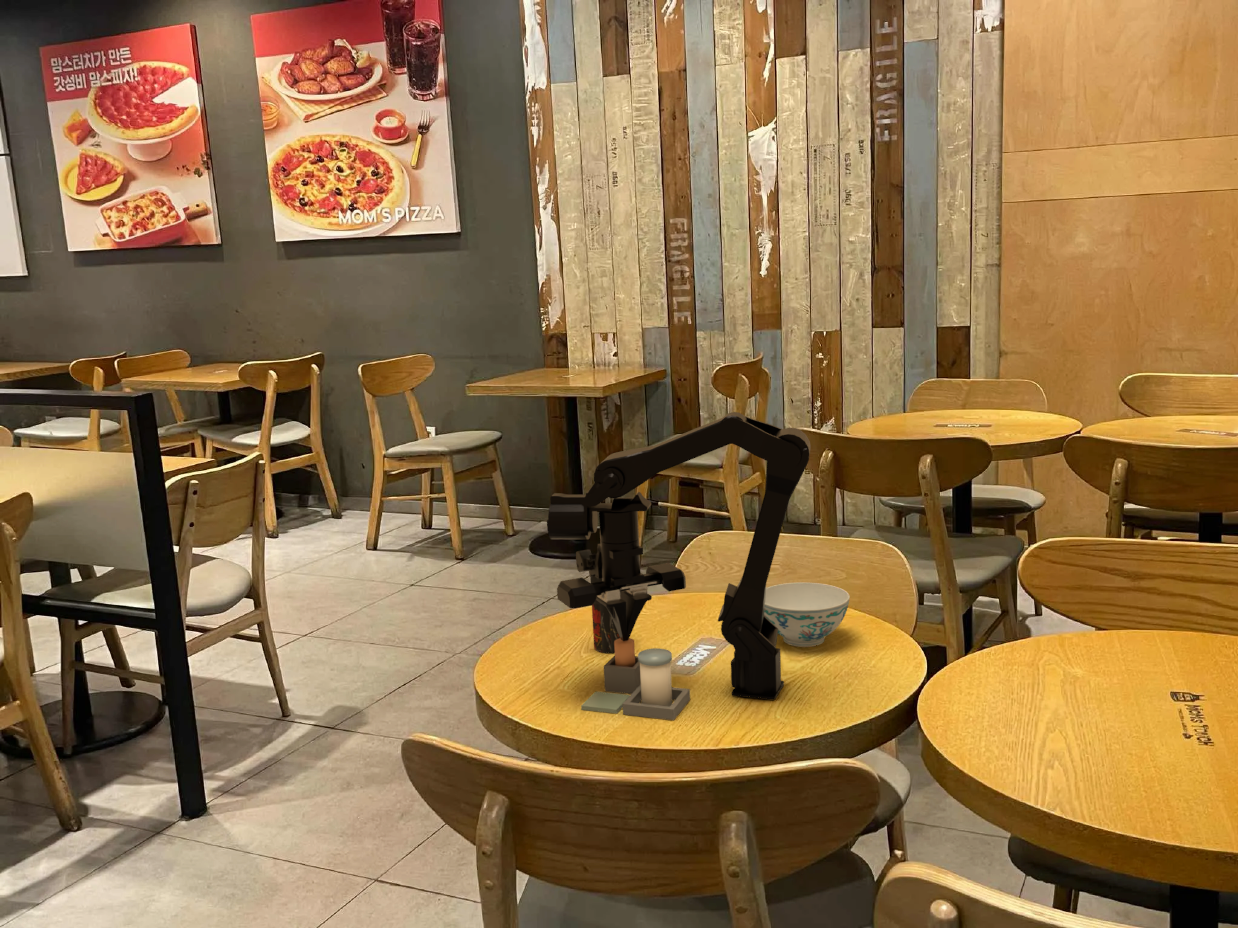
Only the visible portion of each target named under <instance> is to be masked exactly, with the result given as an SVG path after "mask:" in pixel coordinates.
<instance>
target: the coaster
mask: <svg viewBox="0 0 1238 928" xmlns="http://www.w3.org/2000/svg"><path fill="white" fill-rule="evenodd" d="M630 695H631V694H626V693H617V692H608V691H595V692H593V694H591V695H590V696H589V697H588V698H587V699H586V701H584V702H583V703H582V704H581V707H580V708H581V710H582V711H592V712H599V713H606V714H618V713H619V712H620V711H621V710H623V703H624V702H625V701H626V700H627V698H628V697H629V696H630Z"/></svg>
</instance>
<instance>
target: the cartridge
mask: <svg viewBox="0 0 1238 928" xmlns="http://www.w3.org/2000/svg"><path fill="white" fill-rule="evenodd" d="M637 656H638V661H639V662H640V678H641V701H640V702H641V704H650V705H659V706H668V707H670V706H671V705H672V703H673V700H672V686H673V685H672V667H671V665H672V664H671V662H672V660H673V653H672V651H670V650H669V649H667V648H658V647H657V648H656V647H655V648H647V649H643V650H641V651H640V652H638V654H637Z"/></svg>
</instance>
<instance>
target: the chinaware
mask: <svg viewBox="0 0 1238 928" xmlns="http://www.w3.org/2000/svg"><path fill="white" fill-rule="evenodd" d="M850 598H851V597H850V593H848V591H846V590H845V589H843V588H841V587H838V586H835V585H831V584H826V583H820V582H819V583H818V582H808V581H807V582H803V581H801V582H800V581H799V582H785V583H779V584H775V585H771V586H766V595H765V608H764V616H765V617H766V618H767V619H768V620H769V621H771V622H772V623H773V624H774V625H775V626H776V627H777V628H778V635H780V637H782V638H783V641H784V643H785V644H787V645H790V646H793V647H800V648H809V647H810V648H811V647H816V645H817V646H819V645H821V644H823V643H824V642H825V638H826V637H827V636H829V635H831V634H832V633H833V632H834V631H835V630H836V629H837V628H839V626H840V625H841V623H842V621H843V620H844V618H845V616H846V614H847V611H848V608H849V603H850Z"/></svg>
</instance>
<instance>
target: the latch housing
mask: <svg viewBox="0 0 1238 928" xmlns="http://www.w3.org/2000/svg"><path fill="white" fill-rule="evenodd" d="M603 678H604V692H607V693H616V694H625V695H631V694H632V693H633V692H634V691H635V690H636V689H637V688H638V687H639V686H640V684H641V678H640V662H639V661H638V655H637V656H636V655H635V665H634V666H633V667H626V666H616V665H615V655H614V656H612V658H610V659H609V660H608V661H607V662H606V663H605V664H603Z"/></svg>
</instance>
